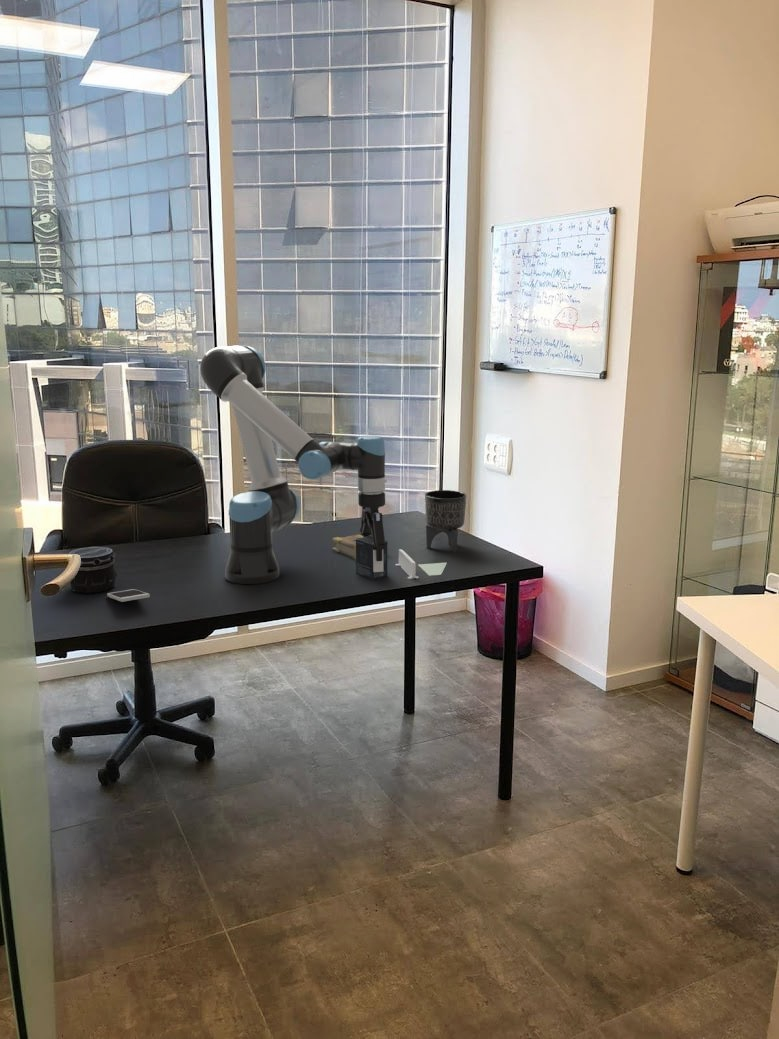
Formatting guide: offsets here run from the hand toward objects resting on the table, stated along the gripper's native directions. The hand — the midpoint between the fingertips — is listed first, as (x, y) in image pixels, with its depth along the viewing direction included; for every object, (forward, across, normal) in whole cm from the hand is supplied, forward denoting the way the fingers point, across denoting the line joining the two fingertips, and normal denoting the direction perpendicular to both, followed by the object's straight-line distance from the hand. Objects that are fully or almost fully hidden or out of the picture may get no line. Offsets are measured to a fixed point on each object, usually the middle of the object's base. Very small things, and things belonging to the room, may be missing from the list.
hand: (372, 564), depth 246 cm
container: (+2, +8, +76) cm, 77 cm away
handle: (+3, 0, -10) cm, 11 cm away
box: (+3, 0, 0) cm, 3 cm away
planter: (+4, +21, -29) cm, 36 cm away
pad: (+3, 0, -20) cm, 20 cm away
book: (+4, +24, -2) cm, 24 cm away
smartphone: (+1, -14, +64) cm, 66 cm away
